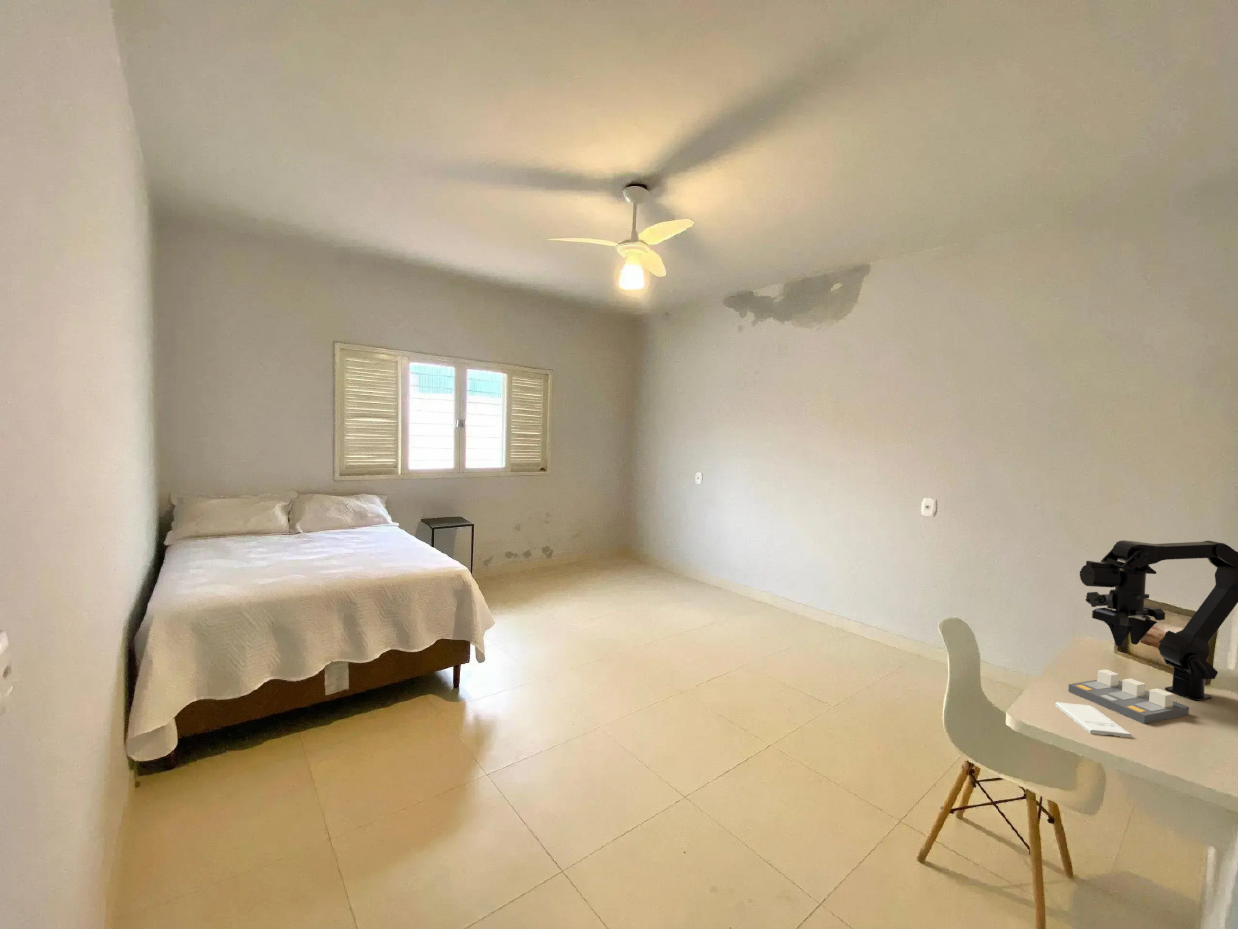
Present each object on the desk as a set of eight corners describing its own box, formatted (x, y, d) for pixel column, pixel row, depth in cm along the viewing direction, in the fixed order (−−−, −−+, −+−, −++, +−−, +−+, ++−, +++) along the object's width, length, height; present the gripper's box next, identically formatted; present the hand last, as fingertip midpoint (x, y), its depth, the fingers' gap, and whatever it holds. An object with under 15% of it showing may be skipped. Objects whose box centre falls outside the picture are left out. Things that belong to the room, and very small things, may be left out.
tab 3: (1157, 700, 127) (1157, 688, 127) (1172, 706, 124) (1173, 694, 124) (1148, 701, 126) (1149, 689, 126) (1164, 707, 124) (1165, 695, 123)
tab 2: (1129, 689, 133) (1130, 678, 132) (1144, 695, 130) (1145, 683, 130) (1121, 691, 132) (1122, 679, 132) (1136, 696, 129) (1137, 685, 129)
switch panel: (1110, 684, 140) (1110, 677, 140) (1188, 714, 125) (1189, 706, 124) (1068, 691, 136) (1068, 683, 136) (1144, 723, 120) (1144, 715, 120)
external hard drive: (1092, 712, 127) (1132, 740, 114) (1054, 708, 128) (1089, 736, 116) (1092, 705, 126) (1132, 733, 114) (1055, 701, 128) (1090, 729, 116)
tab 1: (1104, 680, 138) (1105, 669, 138) (1118, 685, 135) (1119, 674, 135) (1097, 681, 137) (1097, 670, 137) (1110, 686, 134) (1111, 675, 134)
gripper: (1117, 578, 147) (1114, 631, 148) (1071, 582, 142) (1068, 637, 142) (1167, 589, 136) (1164, 646, 137) (1119, 594, 131) (1116, 653, 132)
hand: (1126, 645), depth 137 cm, fingers open, 6 cm apart
